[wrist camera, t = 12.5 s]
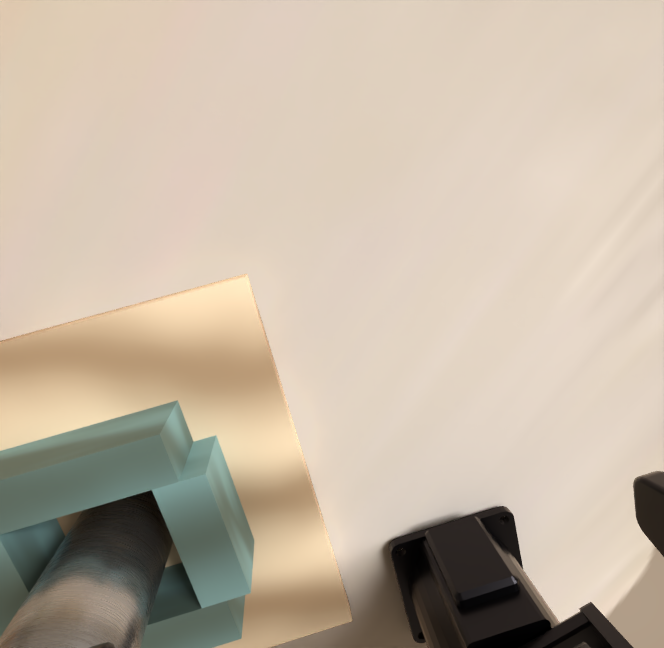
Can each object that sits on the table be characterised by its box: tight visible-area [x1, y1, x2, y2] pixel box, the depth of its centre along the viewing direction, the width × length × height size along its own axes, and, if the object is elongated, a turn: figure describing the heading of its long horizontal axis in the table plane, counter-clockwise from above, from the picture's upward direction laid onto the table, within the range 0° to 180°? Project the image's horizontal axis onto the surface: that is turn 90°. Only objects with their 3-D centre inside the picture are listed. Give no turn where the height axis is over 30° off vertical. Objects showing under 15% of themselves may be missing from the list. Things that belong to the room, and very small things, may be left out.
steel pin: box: [0, 490, 173, 648], centre depth 15 cm, size 4×4×10 cm
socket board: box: [0, 274, 352, 648], centre depth 19 cm, size 18×16×4 cm
